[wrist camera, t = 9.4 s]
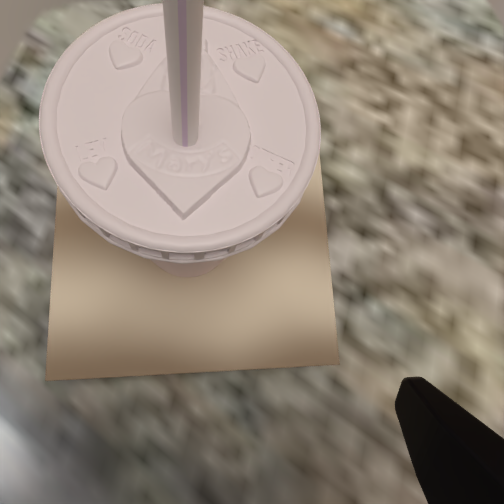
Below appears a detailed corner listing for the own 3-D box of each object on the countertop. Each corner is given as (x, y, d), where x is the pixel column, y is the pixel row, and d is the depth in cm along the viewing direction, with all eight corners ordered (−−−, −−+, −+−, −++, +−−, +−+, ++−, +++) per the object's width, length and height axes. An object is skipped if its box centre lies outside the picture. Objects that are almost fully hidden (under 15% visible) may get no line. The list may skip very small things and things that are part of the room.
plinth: (322, 363, 21) (339, 364, 18) (63, 378, 19) (45, 381, 17) (302, 141, 24) (315, 116, 21) (76, 135, 22) (62, 107, 19)
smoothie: (107, 307, 18) (-163, 137, 4) (118, 165, 19) (-49, -294, 6) (260, 309, 18) (449, 176, 5) (259, 173, 20) (401, -207, 7)
